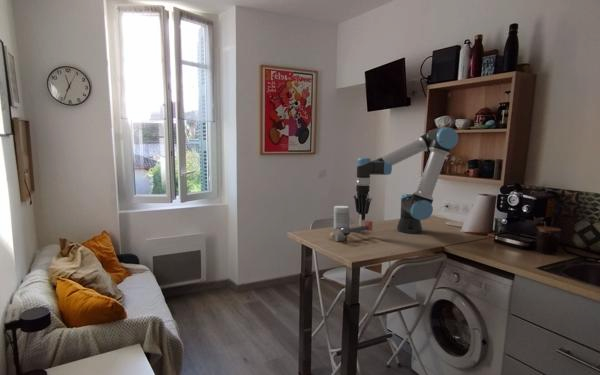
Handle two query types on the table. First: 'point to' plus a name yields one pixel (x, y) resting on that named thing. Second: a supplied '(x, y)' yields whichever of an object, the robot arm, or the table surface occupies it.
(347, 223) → the supplement tub
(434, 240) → the table surface
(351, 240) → the cracker base
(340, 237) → the lever
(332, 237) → the walnut
